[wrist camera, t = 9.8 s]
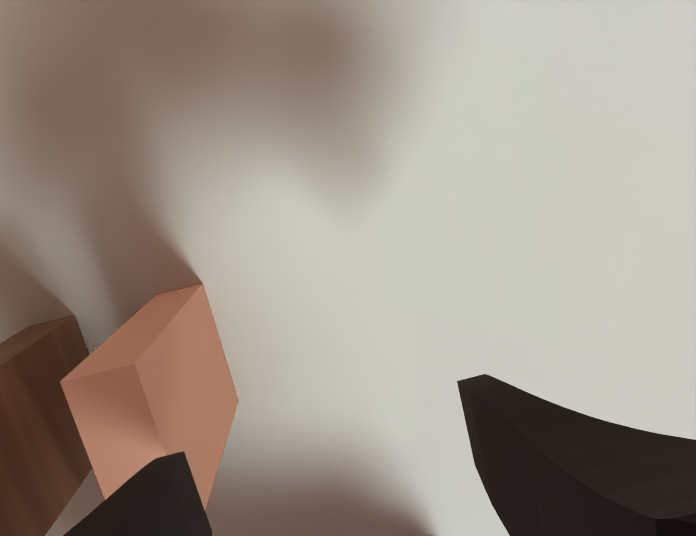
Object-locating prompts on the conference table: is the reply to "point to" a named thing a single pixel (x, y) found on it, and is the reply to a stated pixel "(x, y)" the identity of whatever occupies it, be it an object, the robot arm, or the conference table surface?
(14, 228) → the conference table surface
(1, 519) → the brown rectangular block
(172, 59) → the conference table surface
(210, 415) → the tile
